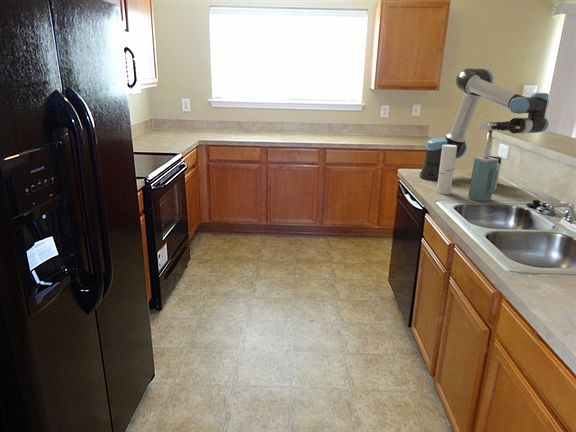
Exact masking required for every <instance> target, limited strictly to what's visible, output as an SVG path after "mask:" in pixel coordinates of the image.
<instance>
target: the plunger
mask: <svg viewBox="0 0 576 432" xmlns="http://www.w3.org/2000/svg"><path fill="white" fill-rule="evenodd" d="M486 123H487V122H486ZM487 124H496V123H487ZM487 131H488V132H487V137H486V143H485V150H484V155H483V157H484V159H488V156H490V154H489V153H490V148H491V143H492V142H491V141H492V135H493V131H494V130H487Z"/></svg>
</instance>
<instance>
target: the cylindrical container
mask: <svg viewBox="0 0 576 432" xmlns="http://www.w3.org/2000/svg"><path fill="white" fill-rule="evenodd" d="M456 151H457V146H455V145H442V153H441V161H440V169H439V176H438V180H437V185H436V193H437V194H440V195H450V194H451V193H452V186H453V177H454V171H455V164H456V159H457V158H456ZM455 158H456V159H455Z"/></svg>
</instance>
